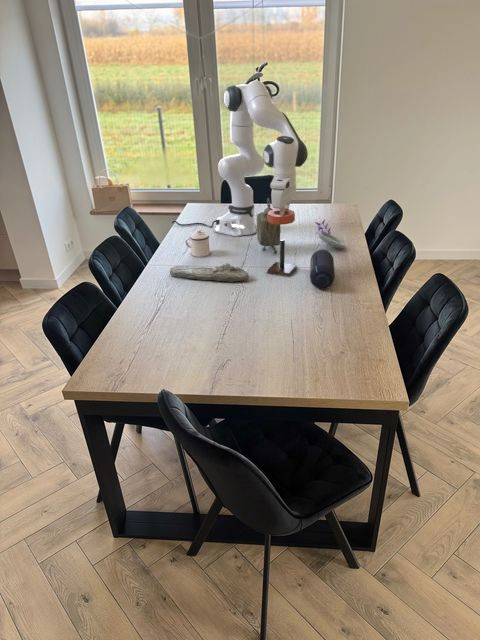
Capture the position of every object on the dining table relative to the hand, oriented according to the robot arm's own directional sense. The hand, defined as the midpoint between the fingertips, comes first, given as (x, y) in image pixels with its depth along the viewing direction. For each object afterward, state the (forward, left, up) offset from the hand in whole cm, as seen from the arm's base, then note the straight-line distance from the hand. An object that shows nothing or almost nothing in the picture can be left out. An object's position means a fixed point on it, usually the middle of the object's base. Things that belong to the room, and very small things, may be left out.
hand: (284, 213), depth 206 cm
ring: (0, -4, -2) cm, 5 cm away
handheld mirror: (+10, +39, -24) cm, 47 cm away
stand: (+1, -4, -24) cm, 25 cm away
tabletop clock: (-14, +17, -24) cm, 33 cm away
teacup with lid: (-44, +1, -24) cm, 51 cm away
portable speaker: (+20, -7, -24) cm, 32 cm away
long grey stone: (-26, -22, -24) cm, 42 cm away
